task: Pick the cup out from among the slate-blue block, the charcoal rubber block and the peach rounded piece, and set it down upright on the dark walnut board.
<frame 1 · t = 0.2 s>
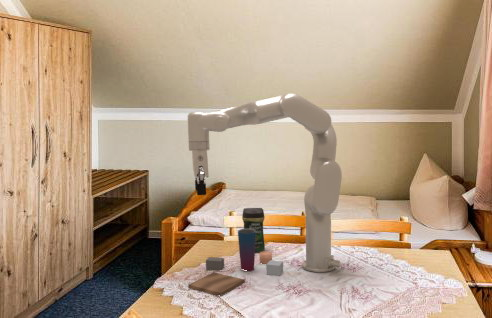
hand: (200, 192, 173), 31 cm above the table, tool pointing down, fingers open, 9 cm apart
walnut board: (216, 285, 164), on the table
cup: (247, 269, 179), on the table
coffee jar: (253, 250, 203), on the table
slate block: (275, 273, 175), on the table
peach rounded piece: (265, 262, 186), on the table
charcoal block: (215, 269, 181), on the table
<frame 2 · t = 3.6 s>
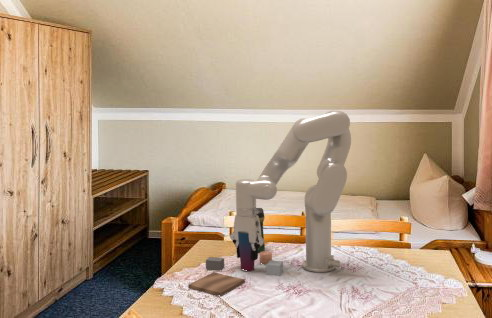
hand: (247, 258, 179), 4 cm above the table, tool pointing down, fingers closed on cup, 6 cm apart
cup: (247, 269, 179), on the table, touching gripper
everything else where it was.
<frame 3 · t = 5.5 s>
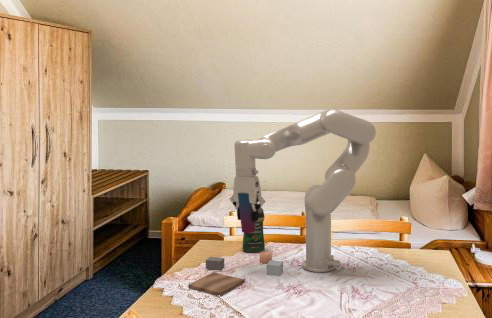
hand: (247, 219, 177), 19 cm above the table, tool pointing down, fingers closed on cup, 6 cm apart
cup: (248, 231, 178), point 15 cm above the table, touching gripper
everything else where it was.
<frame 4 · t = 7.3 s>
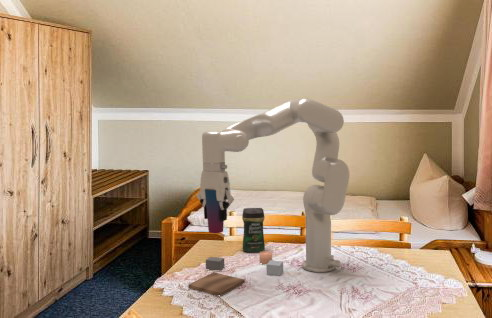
hand: (215, 218, 161), 24 cm above the table, tool pointing down, fingers closed on cup, 6 cm apart
cup: (215, 231, 162), point 19 cm above the table, touching gripper
everything else where it was.
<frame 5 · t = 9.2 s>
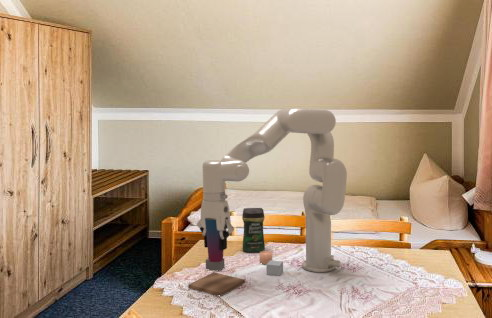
hand: (215, 247, 162), 14 cm above the table, tool pointing down, fingers closed on cup, 6 cm apart
cup: (215, 260, 163), point 9 cm above the table, touching gripper
everything else where it was.
when the fingers open (7 cm above the table, at t = 11.0 s): cup drops 1 cm, resting on walnut board.
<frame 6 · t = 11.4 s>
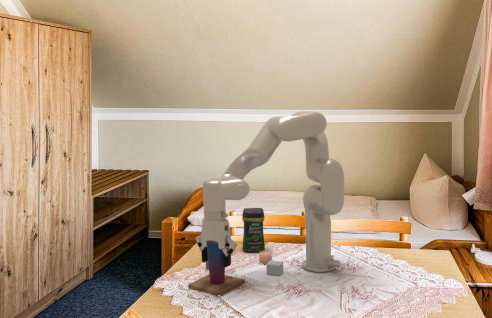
hand: (216, 263, 163), 8 cm above the table, tool pointing down, fingers open, 9 cm apart
cup: (217, 282, 164), point 1 cm above the table, touching walnut board
everything else where it was.
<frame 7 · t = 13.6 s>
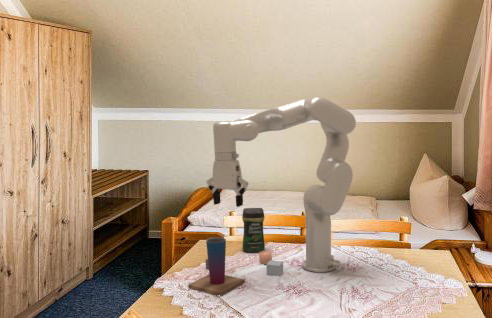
hand: (228, 204, 166), 27 cm above the table, tool pointing down, fingers open, 9 cm apart
nothing on the table moved.
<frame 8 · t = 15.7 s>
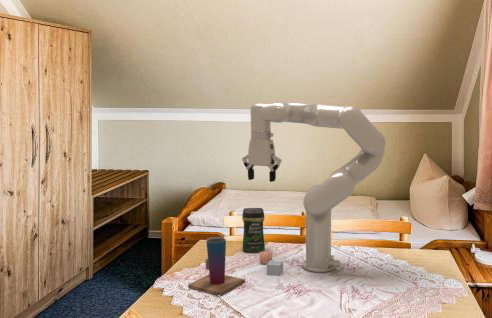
hand: (261, 180, 181), 33 cm above the table, tool pointing down, fingers open, 9 cm apart
nothing on the table moved.
at the end: cup inside the target area on the walnut board (0.2 cm from its centre), point 1.0 cm above the walnut board's base; cup tilted 0°; the gripper is holding nothing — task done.
